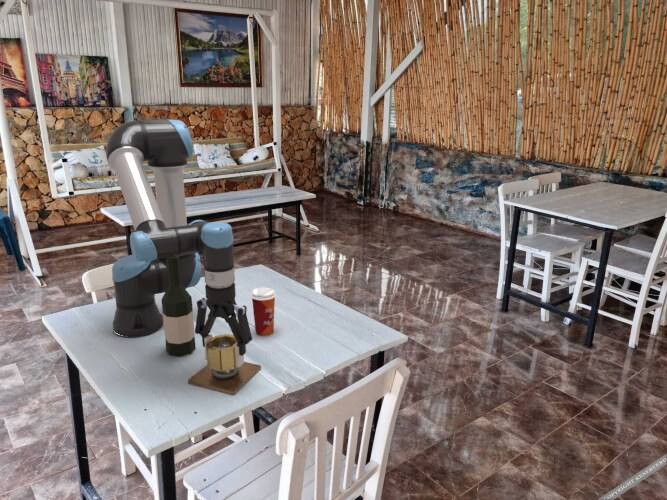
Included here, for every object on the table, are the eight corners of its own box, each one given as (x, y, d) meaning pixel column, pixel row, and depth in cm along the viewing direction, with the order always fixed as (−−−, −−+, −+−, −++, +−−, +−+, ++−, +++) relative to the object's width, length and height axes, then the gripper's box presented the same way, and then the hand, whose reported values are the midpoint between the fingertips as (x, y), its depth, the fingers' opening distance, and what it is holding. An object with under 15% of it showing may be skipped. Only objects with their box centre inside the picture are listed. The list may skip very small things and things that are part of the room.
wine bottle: (180, 359, 150) (171, 261, 141) (160, 352, 155) (150, 255, 145) (201, 348, 157) (194, 252, 148) (182, 340, 161) (173, 247, 152)
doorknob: (188, 383, 139) (185, 351, 136) (218, 358, 151) (216, 328, 148) (233, 395, 134) (232, 362, 131) (261, 368, 146) (260, 338, 143)
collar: (201, 366, 139) (199, 346, 137) (220, 351, 147) (218, 332, 145) (229, 373, 136) (228, 352, 134) (247, 357, 144) (246, 338, 142)
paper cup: (272, 338, 163) (271, 297, 159) (248, 336, 165) (247, 295, 160) (279, 327, 170) (278, 287, 166) (257, 325, 172) (255, 285, 167)
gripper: (176, 281, 135) (182, 359, 142) (249, 295, 127) (252, 376, 134) (193, 272, 141) (199, 347, 148) (264, 284, 134) (266, 362, 141)
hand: (224, 361), depth 141 cm, fingers closed on collar, 9 cm apart
